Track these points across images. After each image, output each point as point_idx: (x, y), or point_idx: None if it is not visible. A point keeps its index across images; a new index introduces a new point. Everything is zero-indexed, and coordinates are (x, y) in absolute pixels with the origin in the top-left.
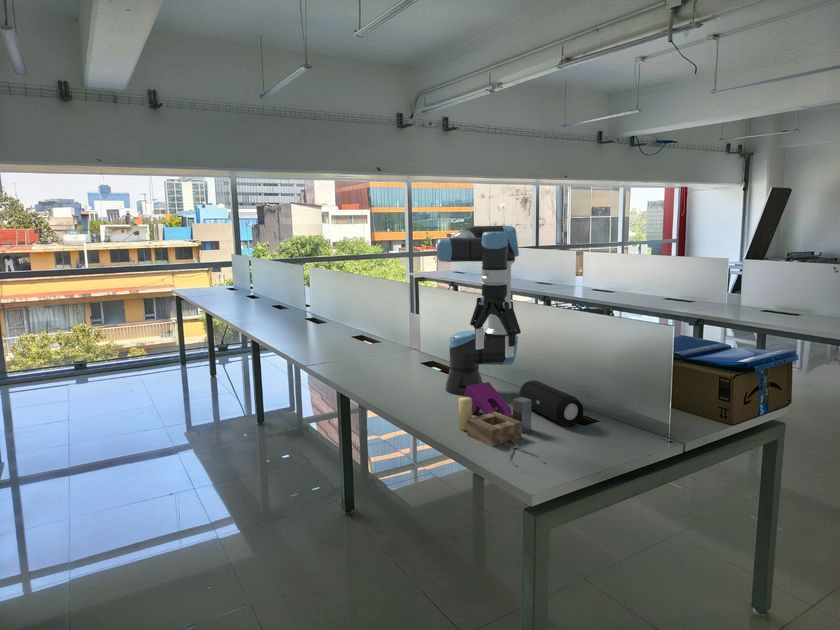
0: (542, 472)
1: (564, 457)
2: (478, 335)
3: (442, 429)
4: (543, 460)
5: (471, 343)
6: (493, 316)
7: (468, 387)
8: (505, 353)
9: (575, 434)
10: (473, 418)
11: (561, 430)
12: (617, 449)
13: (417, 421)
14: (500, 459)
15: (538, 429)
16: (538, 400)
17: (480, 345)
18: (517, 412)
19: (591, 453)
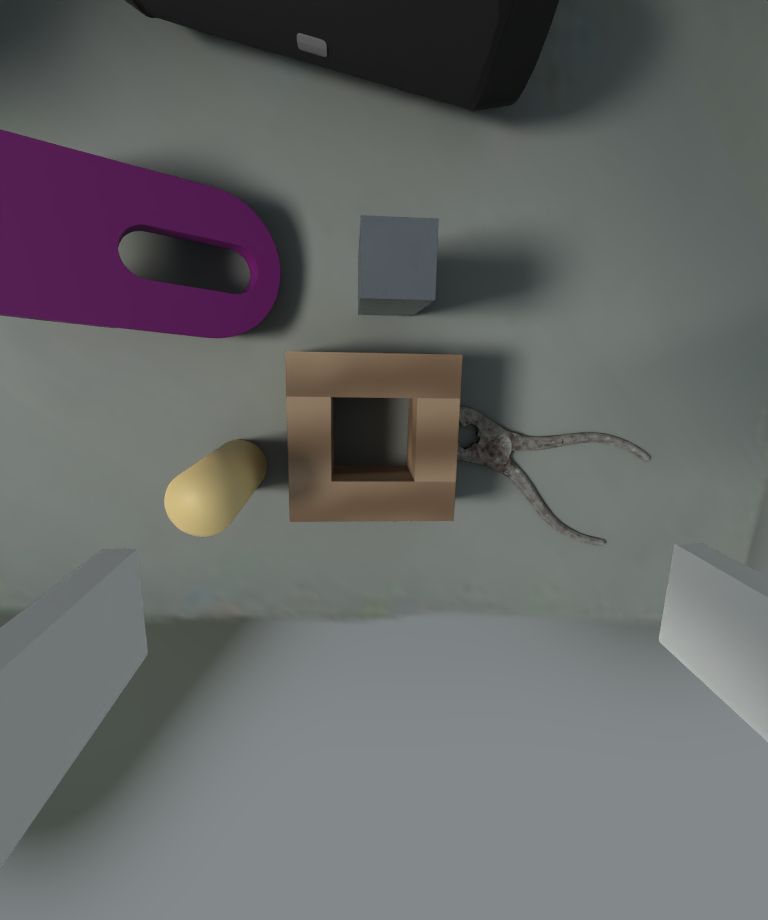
0: (679, 509)
1: (665, 369)
2: (12, 821)
3: (198, 540)
4: (638, 451)
5: None
6: None
7: None
8: (693, 670)
9: (568, 141)
10: (297, 492)
11: (500, 151)
12: (764, 144)
13: (62, 568)
14: (533, 546)
15: None
16: (312, 35)
17: (119, 634)
18: (394, 306)
19: (713, 262)
